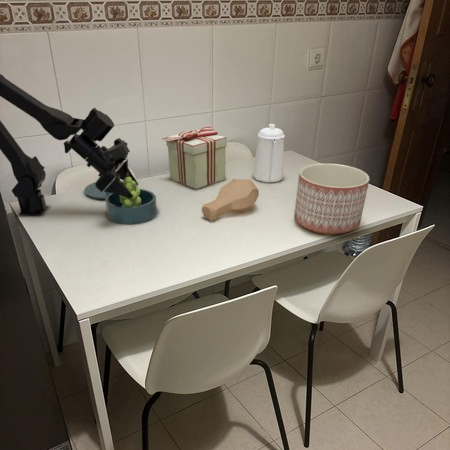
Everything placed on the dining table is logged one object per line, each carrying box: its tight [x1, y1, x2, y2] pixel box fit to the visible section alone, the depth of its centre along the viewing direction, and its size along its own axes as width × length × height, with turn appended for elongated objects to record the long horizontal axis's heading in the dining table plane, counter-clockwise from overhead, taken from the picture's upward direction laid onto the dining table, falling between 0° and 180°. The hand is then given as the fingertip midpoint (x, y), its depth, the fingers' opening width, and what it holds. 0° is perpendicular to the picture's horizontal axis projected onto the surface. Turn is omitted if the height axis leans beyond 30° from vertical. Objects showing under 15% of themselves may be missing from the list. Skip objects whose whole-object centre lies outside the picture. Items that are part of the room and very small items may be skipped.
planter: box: [293, 162, 370, 236], centre depth 129 cm, size 19×19×15 cm
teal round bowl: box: [104, 188, 158, 225], centre depth 134 cm, size 15×15×5 cm
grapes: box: [119, 173, 141, 207], centre depth 132 cm, size 7×7×12 cm
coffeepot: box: [252, 123, 286, 183], centre depth 157 cm, size 11×25×19 cm, turn 179°
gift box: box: [162, 126, 228, 190], centre depth 156 cm, size 17×18×17 cm
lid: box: [84, 180, 123, 200], centre depth 148 cm, size 16×16×5 cm
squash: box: [201, 178, 260, 222], centre depth 136 cm, size 11×20×9 cm, turn 135°
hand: (134, 191), depth 132 cm, fingers open, 9 cm apart
